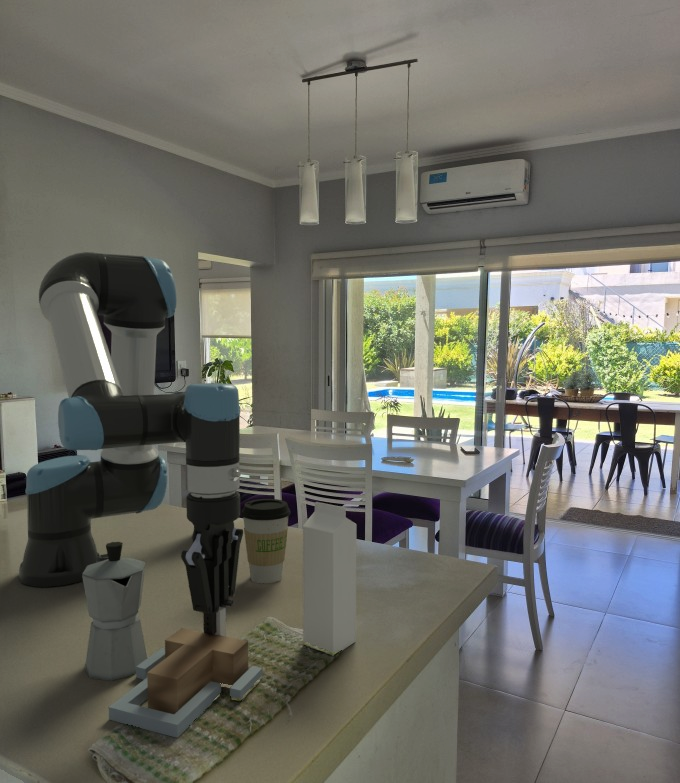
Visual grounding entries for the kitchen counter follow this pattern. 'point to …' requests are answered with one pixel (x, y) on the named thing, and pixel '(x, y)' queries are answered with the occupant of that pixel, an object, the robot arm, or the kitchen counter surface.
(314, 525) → the milk
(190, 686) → the t block
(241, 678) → the t bay
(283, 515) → the coffee cup
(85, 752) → the kitchen counter surface
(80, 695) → the kitchen counter surface
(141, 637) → the coffee maker
